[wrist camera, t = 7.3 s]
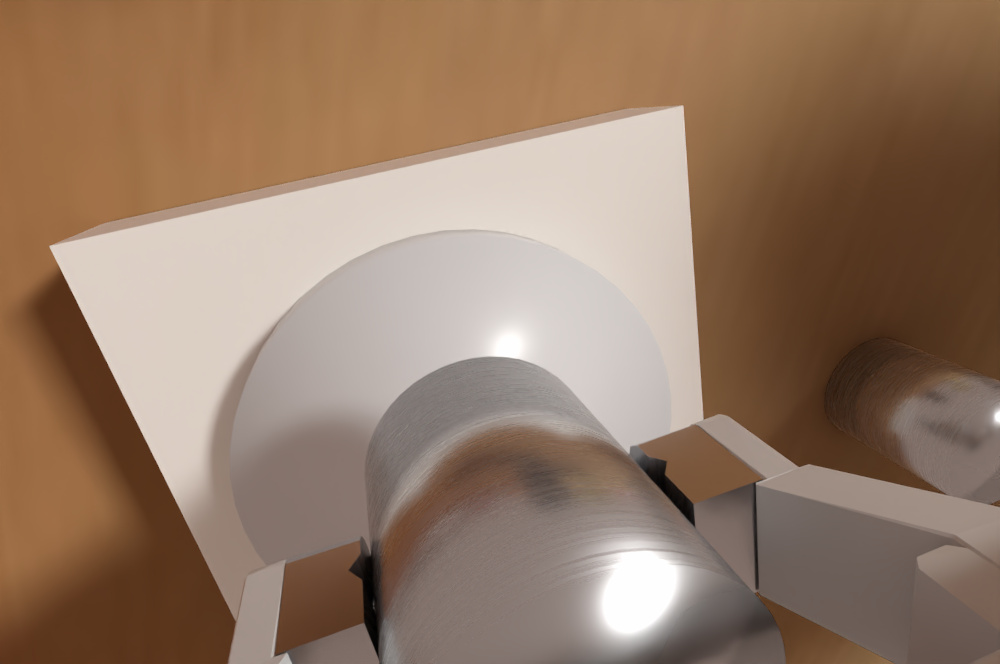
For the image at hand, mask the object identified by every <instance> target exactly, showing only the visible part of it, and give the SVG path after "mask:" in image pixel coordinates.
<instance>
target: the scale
mask: <svg viewBox="0 0 1000 664" xmlns="http://www.w3.org/2000/svg"><path fill="white" fill-rule="evenodd" d="M49 247H50V249H51V251H52V253H53V255H54V257H55V259H56V261H57V263H58V265H59V267H60V269H61V271H62V273H63V275H64V277H65V279H66V281H67V283H68V285H69V287H70V289H71V291H72V293H73V295H74V297H75V299H76V301H77V303H78V305H79V307H80V309H81V311H82V313H83V315H84V317H85V319H86V321H87V323H88V325H89V327H90V329H91V331H92V333H93V335H94V337H95V339H96V341H97V343H98V345H99V347H100V349H101V351H102V353H103V355H104V357H105V360H106V362H107V364H108V366H109V368H110V370H111V372H112V374H113V376H114V378H115V380H116V382H117V384H118V386H119V388H120V390H121V392H122V394H123V396H124V398H125V400H126V402H127V404H128V406H129V408H130V410H131V412H132V414H133V416H134V418H135V420H136V422H137V424H138V426H139V428H140V430H141V432H142V434H143V436H144V438H145V440H146V442H147V444H148V446H149V448H150V450H151V452H152V454H153V456H154V458H155V460H156V462H157V464H158V466H159V468H160V470H161V472H162V474H163V476H164V478H165V480H166V482H167V484H168V486H169V488H170V490H171V492H172V494H173V496H174V498H175V500H176V502H177V504H178V506H179V508H180V510H181V512H182V515H183V517H184V519H185V521H186V523H187V525H188V527H189V529H190V531H191V533H192V535H193V537H194V539H195V541H196V543H197V545H198V547H199V549H200V551H201V553H202V555H203V557H204V559H205V561H206V563H207V565H208V567H209V569H210V571H211V573H212V575H213V577H214V579H215V581H216V583H217V585H218V587H219V589H220V591H221V593H222V595H223V597H224V599H225V601H226V603H227V605H228V607H229V609H230V611H231V613H232V615H233V617H234V619H235V621H236V619H237V615H238V610H239V605H240V600H241V595H242V591H243V586H244V581H245V578H246V576H247V575H248V574H249V573H250V571H251V570H254V569H257V568H260V567H263V566H267V565H270V564H273V563H276V562H279V561H282V560H285V559H289V558H291V557H294V556H297V555H300V554H304V553H307V552H310V551H313V550H316V549H320V548H323V547H326V546H329V545H333V544H336V543H339V542H342V541H345V540H349V539H352V538H355V537H358V536H362V537H363V538H364V539H365V541H366V544H367V547H368V549H369V552H370V554H371V551H370V538H369V526H368V513H367V500H366V488H365V475H364V474H365V460H366V455H367V450H368V446H369V443H370V440H371V438H372V435H373V432H374V430H375V429H376V427H377V425H378V423H379V421H380V419H381V418H382V416H383V415H384V413H385V412H386V411H387V409H388V408H389V406H390V405H391V404H392V403H393V402H394V401H395V400H396V399H397V398H398V397H399V396H400V394H402V393H403V392H404V391H405V390H406V389H407V388H409V387H410V386H411V385H412V384H413V383H415V382H416V381H418V380H419V379H421V378H423V377H424V376H426V375H427V374H429V373H431V372H433V371H435V370H437V369H439V368H441V367H444V366H446V365H449V364H452V363H455V362H458V361H462V360H466V359H471V358H478V357H488V356H493V357H509V358H515V359H520V360H524V361H527V362H530V363H533V364H536V365H538V366H540V367H542V368H544V369H546V370H548V371H549V372H551V373H552V374H554V375H555V376H557V377H558V378H559V379H560V380H561V381H563V382H564V383H565V384H566V385H567V386H568V387H569V388H570V389H571V391H572V392H573V393H574V394H575V395H576V396H577V397H578V398H579V399H580V400H581V402H582V403H583V404H584V405H585V406H586V407H587V408H588V409H589V410H590V412H591V413H592V414H593V415H594V416H595V417H596V418H597V419H598V420H599V422H600V423H601V424H602V425H603V426H604V427H605V428H606V429H607V430H608V432H609V433H610V434H611V435H612V436H613V437H614V438H615V439H616V440H617V442H618V443H619V444H620V445H621V446H622V447H623V448H624V449H625V450H626V452H627V453H628V454H629V453H630V446H633V445H636V444H639V443H642V442H645V441H648V440H651V439H654V438H657V437H659V436H662V435H665V434H668V433H671V432H674V431H677V430H680V429H683V428H686V427H689V426H690V425H691V424H694V423H697V422H699V421H702V420H704V419H703V403H702V388H701V372H700V357H699V341H698V326H697V310H696V295H695V279H694V264H693V248H692V233H691V217H690V202H689V186H688V171H687V155H686V140H685V124H684V109H683V105H681V106H664V107H647V108H630V109H623V110H618V111H614V112H609V113H605V114H600V115H596V116H591V117H586V118H582V119H577V120H573V121H568V122H564V123H559V124H554V125H550V126H545V127H541V128H536V129H532V130H527V131H523V132H518V133H513V134H509V135H504V136H500V137H495V138H491V139H486V140H481V141H477V142H472V143H468V144H463V145H459V146H454V147H449V148H445V149H440V150H436V151H431V152H427V153H422V154H418V155H413V156H408V157H404V158H399V159H395V160H390V161H386V162H381V163H376V164H372V165H367V166H363V167H358V168H354V169H349V170H345V171H340V172H335V173H331V174H326V175H322V176H317V177H313V178H308V179H303V180H299V181H294V182H290V183H285V184H281V185H276V186H271V187H267V188H262V189H258V190H253V191H249V192H244V193H240V194H235V195H230V196H226V197H221V198H217V199H212V200H208V201H203V202H198V203H194V204H189V205H185V206H180V207H176V208H171V209H166V210H162V211H157V212H153V213H148V214H144V215H139V216H135V217H130V218H125V219H121V220H116V221H112V222H107V223H104V224H101V225H99V226H97V227H94V228H92V229H89V230H87V231H84V232H82V233H80V234H77V235H75V236H72V237H70V238H68V239H65V240H63V241H60V242H58V243H56V244H53V245H51V246H49Z"/></svg>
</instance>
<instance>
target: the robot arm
mask: <svg viewBox="0 0 1000 664" xmlns="http://www.w3.org/2000/svg"><path fill="white" fill-rule="evenodd" d="M629 455H630V456H631V457H632V458H633V459H634V460H635V462H636V463H637V464H638V465H639V466H640V467H641V468H642V469H643V470H644V471H645V473H646V474H647V475H648V476H649V477H650V478H651V479H652V480H653V481H654V483H655V484H656V485H657V486H658V487H659V488H660V489H661V490H662V491H663V493H664V494H665V495H666V496H667V497H668V498H669V499H670V500H671V501H672V503H673V504H674V505H675V506H676V507H677V508H678V509H679V510H680V511H681V513H682V514H683V515H684V516H685V517H686V518H687V519H688V520H689V521H690V523H691V524H692V525H693V526H694V527H695V528H696V529H697V530H698V531H699V533H700V534H701V535H702V536H703V537H704V538H705V539H706V540H707V541H708V542H709V544H710V545H711V546H712V547H713V548H714V549H715V550H716V551H717V552H718V554H719V555H720V556H721V557H722V558H723V559H724V560H725V561H726V562H727V564H728V565H729V566H730V567H731V568H732V569H733V570H734V571H735V572H736V574H737V575H738V576H739V577H740V578H741V579H742V580H743V581H744V582H745V584H746V585H747V586H748V587H749V588H750V589H751V590H752V591H753V592H754V593H756V592H758V591H759V595H761V596H763V597H765V598H767V599H769V600H771V601H773V602H775V603H777V604H779V605H781V606H783V607H785V608H787V609H788V610H790V611H792V612H794V613H796V614H798V615H800V616H802V617H804V618H806V619H808V620H810V621H812V622H814V623H816V624H818V625H820V626H822V627H824V628H826V629H828V630H830V631H832V632H834V633H836V634H838V635H840V636H842V637H844V638H846V639H848V640H850V641H852V642H854V643H856V644H857V645H859V646H861V647H863V648H865V649H867V650H869V651H871V652H873V653H875V654H877V655H879V656H881V657H883V658H885V659H887V660H889V661H891V662H893V663H895V664H1000V507H997V506H993V505H988V504H984V503H979V502H975V501H970V500H966V499H961V498H957V497H953V496H948V495H944V494H939V493H935V492H930V491H926V490H921V489H917V488H912V487H908V486H904V485H899V484H895V483H890V482H886V481H881V480H877V479H872V478H868V477H864V476H859V475H855V474H850V473H846V472H841V471H837V470H832V469H828V468H824V467H819V466H815V465H810V464H808V465H805V466H802V467H798V466H797V465H795V464H794V463H792V462H791V461H790V460H788V459H787V458H785V457H784V456H783V455H781V454H780V453H779V452H777V451H776V450H774V449H773V448H772V447H770V446H769V445H767V444H766V443H765V442H763V441H762V440H761V439H759V438H758V437H756V436H755V435H754V434H752V433H751V432H749V431H748V430H747V429H745V428H744V427H743V426H741V425H740V424H738V423H737V422H736V421H734V420H733V419H731V418H730V417H729V416H727V415H722V414H718V415H716V416H713V417H710V418H707V419H705V420H702V421H699V422H697V423H694V424H691V425H690V426H689V427H686V428H683V429H680V430H677V431H674V432H671V433H668V434H665V435H662V436H659V437H657V438H654V439H651V440H648V441H645V442H642V443H639V444H636V445H633V446H630V453H629ZM227 664H379V651H378V639H377V626H376V614H375V601H374V589H373V576H372V563H371V554H370V552H369V549H368V547H367V544H366V541H365V539H364V538H363V537H362V536H358V537H355V538H352V539H349V540H345V541H342V542H339V543H336V544H333V545H329V546H326V547H323V548H320V549H316V550H313V551H310V552H307V553H304V554H300V555H297V556H294V557H291V558H289V559H285V560H282V561H279V562H276V563H273V564H270V565H267V566H263V567H260V568H257V569H254V570H251V571H250V573H249V574H248V575H247V576H246V578H245V581H244V586H243V591H242V595H241V600H240V605H239V610H238V615H237V619H236V624H235V629H234V634H233V639H232V643H231V648H230V653H229V658H228V663H227Z"/></svg>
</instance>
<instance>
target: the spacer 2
mask: <svg viewBox="0 0 1000 664" xmlns="http://www.w3.org/2000/svg"><path fill="white" fill-rule="evenodd" d="M825 410H826V414H827V417H828V418H829V420H830V422H831V423H832V424H833V425H834V426H835V427H837V428H838V429H840V430H842V431H843V432H845V433H847V434H848V435H850V436H851V437H853V438H855V439H856V440H858V441H860V442H861V443H863V444H865V445H866V446H868V447H870V448H871V449H873V450H875V451H876V452H878V453H879V454H881V455H883V456H884V457H886V458H888V459H889V460H891V461H893V462H894V463H896V464H898V465H899V466H901V467H903V468H904V469H906V470H907V471H909V472H911V473H912V474H914V475H916V476H917V477H919V478H921V479H922V480H924V481H926V482H927V483H929V484H930V485H932V486H934V487H935V488H937V489H939V490H940V491H942V492H944V493H945V494H947V495H949V496H953V497H957V498H961V499H966V500H970V501H975V502H979V503H984V504H991V503H994V502H996V501H999V500H1000V380H997V379H994V378H992V377H989V376H987V375H984V374H981V373H979V372H976V371H974V370H971V369H969V368H966V367H963V366H961V365H958V364H956V363H953V362H950V361H948V360H945V359H943V358H940V357H937V356H935V355H932V354H930V353H927V352H925V351H922V350H919V349H917V348H914V347H912V346H909V345H906V344H904V343H901V342H899V341H896V340H894V339H890V338H877V339H873V340H869V341H867V342H865V343H863V344H861V345H859V346H857V347H856V348H854V349H853V350H852V351H851V352H849V353H848V354H847V355H846V356H845V357H844V358H843V359H842V361H841V362H840V363H839V364H838V366H837V367H836V369H835V370H834V372H833V374H832V375H831V378H830V380H829V382H828V385H827V388H826V393H825Z"/></svg>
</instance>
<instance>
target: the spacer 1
mask: <svg viewBox="0 0 1000 664" xmlns="http://www.w3.org/2000/svg"><path fill="white" fill-rule="evenodd" d="M364 475H365V488H366V500H367V513H368V526H369V538H370V551H371V563H372V576H373V589H374V601H375V614H376V626H377V639H378V651H379V664H786V660H785V650H784V644H783V640H782V637H781V633H780V630H779V628H778V626H777V624H776V622H775V620H774V618H773V616H772V614H771V613H770V611H769V610H768V609H767V608H766V606H765V605H764V604H763V603H762V601H761V600H760V599H759V598H758V597H757V596H756V595H755V594H754V592H753V591H752V590H751V589H750V588H749V587H748V586H747V585H746V584H745V582H744V581H743V580H742V579H741V578H740V577H739V576H738V575H737V574H736V572H735V571H734V570H733V569H732V568H731V567H730V566H729V565H728V564H727V562H726V561H725V560H724V559H723V558H722V557H721V556H720V555H719V554H718V552H717V551H716V550H715V549H714V548H713V547H712V546H711V545H710V544H709V542H708V541H707V540H706V539H705V538H704V537H703V536H702V535H701V534H700V533H699V531H698V530H697V529H696V528H695V527H694V526H693V525H692V524H691V523H690V521H689V520H688V519H687V518H686V517H685V516H684V515H683V514H682V513H681V511H680V510H679V509H678V508H677V507H676V506H675V505H674V504H673V503H672V501H671V500H670V499H669V498H668V497H667V496H666V495H665V494H664V493H663V491H662V490H661V489H660V488H659V487H658V486H657V485H656V484H655V483H654V481H653V480H652V479H651V478H650V477H649V476H648V475H647V474H646V473H645V471H644V470H643V469H642V468H641V467H640V466H639V465H638V464H637V463H636V462H635V460H634V459H633V458H632V457H631V456H630V455H629V454H628V453H627V452H626V450H625V449H624V448H623V447H622V446H621V445H620V444H619V443H618V442H617V440H616V439H615V438H614V437H613V436H612V435H611V434H610V433H609V432H608V430H607V429H606V428H605V427H604V426H603V425H602V424H601V423H600V422H599V420H598V419H597V418H596V417H595V416H594V415H593V414H592V413H591V412H590V410H589V409H588V408H587V407H586V406H585V405H584V404H583V403H582V402H581V400H580V399H579V398H578V397H577V396H576V395H575V394H574V393H573V392H572V391H571V389H570V388H569V387H568V386H567V385H566V384H565V383H564V382H563V381H561V380H560V379H559V378H558V377H557V376H555V375H554V374H552V373H551V372H549V371H548V370H546V369H544V368H542V367H540V366H538V365H536V364H533V363H530V362H527V361H524V360H520V359H515V358H509V357H493V356H488V357H478V358H471V359H466V360H462V361H458V362H455V363H452V364H449V365H446V366H444V367H441V368H439V369H437V370H435V371H433V372H431V373H429V374H427V375H426V376H424V377H423V378H421V379H419V380H418V381H416V382H415V383H413V384H412V385H411V386H410V387H409V388H407V389H406V390H405V391H404V392H403V393H402V394H400V396H399V397H398V398H397V399H396V400H395V401H394V402H393V403H392V404H391V405H390V406H389V408H388V409H387V411H386V412H385V413H384V415H383V416H382V418H381V419H380V421H379V423H378V425H377V427H376V429H375V430H374V432H373V435H372V438H371V440H370V443H369V446H368V450H367V455H366V460H365V474H364Z"/></svg>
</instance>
